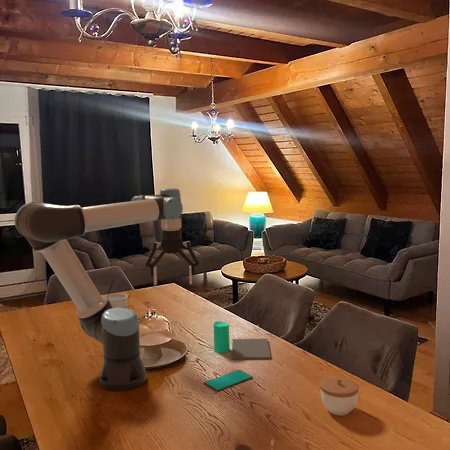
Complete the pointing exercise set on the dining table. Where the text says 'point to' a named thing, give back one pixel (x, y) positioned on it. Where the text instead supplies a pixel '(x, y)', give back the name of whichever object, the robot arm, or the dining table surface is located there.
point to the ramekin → (118, 300)
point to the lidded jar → (339, 394)
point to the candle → (221, 337)
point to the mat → (250, 349)
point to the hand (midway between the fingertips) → (173, 283)
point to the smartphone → (228, 380)
